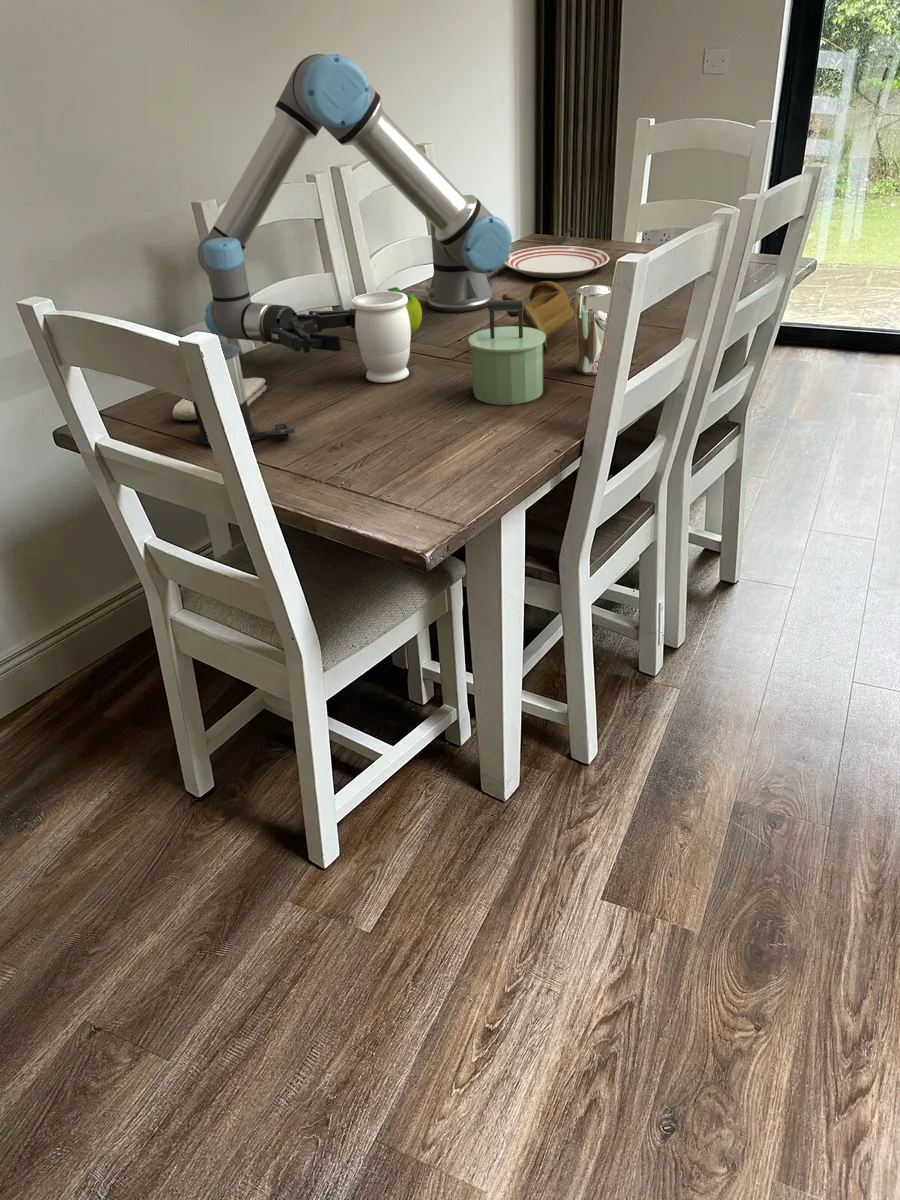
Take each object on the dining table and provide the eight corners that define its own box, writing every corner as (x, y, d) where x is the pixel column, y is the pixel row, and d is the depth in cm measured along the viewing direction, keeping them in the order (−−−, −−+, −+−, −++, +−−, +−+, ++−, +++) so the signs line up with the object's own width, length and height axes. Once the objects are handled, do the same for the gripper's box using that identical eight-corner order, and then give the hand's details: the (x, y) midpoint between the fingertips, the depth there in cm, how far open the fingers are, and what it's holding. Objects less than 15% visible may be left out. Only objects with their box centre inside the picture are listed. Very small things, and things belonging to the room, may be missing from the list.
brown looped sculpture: (459, 312, 188) (523, 269, 199) (483, 370, 193) (544, 326, 205) (525, 295, 174) (590, 251, 185) (549, 359, 179) (610, 312, 191)
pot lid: (474, 332, 170) (472, 291, 166) (548, 331, 168) (548, 289, 164) (463, 356, 159) (460, 312, 155) (542, 355, 157) (542, 311, 153)
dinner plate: (629, 264, 242) (630, 251, 240) (565, 288, 226) (565, 274, 224) (547, 253, 259) (547, 241, 257) (482, 275, 243) (481, 262, 241)
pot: (478, 380, 174) (476, 330, 169) (545, 380, 172) (545, 329, 167) (469, 404, 164) (466, 352, 159) (540, 404, 162) (539, 351, 157)
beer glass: (589, 361, 179) (591, 282, 171) (618, 368, 175) (622, 287, 167) (566, 371, 176) (567, 290, 167) (596, 378, 171) (598, 296, 163)
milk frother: (201, 430, 162) (182, 346, 154) (291, 417, 164) (277, 334, 156) (201, 462, 150) (181, 373, 142) (298, 448, 152) (284, 359, 144)
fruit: (408, 327, 206) (404, 281, 201) (430, 336, 200) (427, 289, 194) (372, 336, 202) (367, 290, 197) (394, 346, 196) (389, 298, 190)
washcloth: (269, 388, 178) (267, 373, 176) (235, 424, 163) (232, 407, 161) (211, 388, 180) (208, 373, 178) (173, 424, 165) (169, 407, 163)
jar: (354, 373, 182) (344, 296, 174) (402, 364, 185) (396, 287, 177) (371, 389, 174) (362, 308, 166) (422, 379, 177) (416, 299, 169)
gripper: (311, 325, 198) (395, 334, 189) (235, 361, 180) (324, 373, 171) (306, 289, 194) (392, 296, 185) (228, 322, 176) (318, 332, 167)
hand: (359, 333), depth 178 cm, fingers open, 13 cm apart
